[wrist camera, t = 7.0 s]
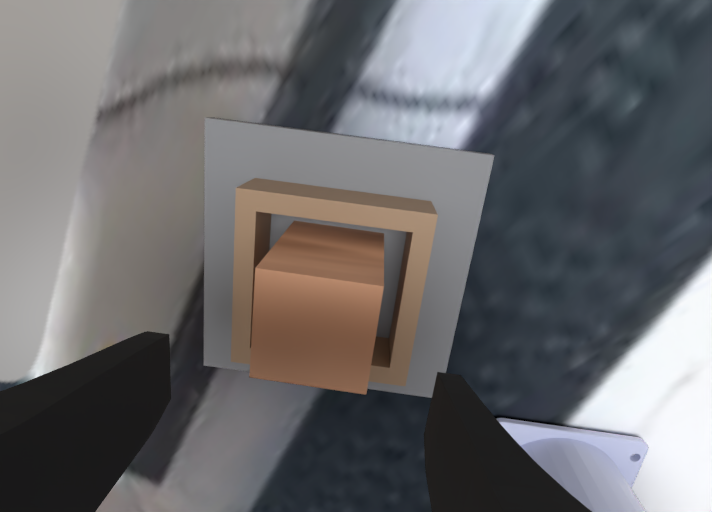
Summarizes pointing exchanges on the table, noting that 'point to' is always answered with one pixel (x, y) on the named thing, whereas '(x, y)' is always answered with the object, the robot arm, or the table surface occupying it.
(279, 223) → the dock
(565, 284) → the table surface
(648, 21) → the table surface
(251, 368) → the tan wooden block
